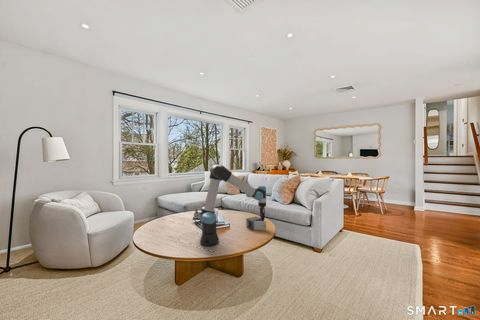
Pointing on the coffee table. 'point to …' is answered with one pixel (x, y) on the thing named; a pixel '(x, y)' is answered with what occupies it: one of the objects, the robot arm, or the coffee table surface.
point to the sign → (197, 214)
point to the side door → (259, 225)
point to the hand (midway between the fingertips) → (262, 226)
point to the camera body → (251, 222)
